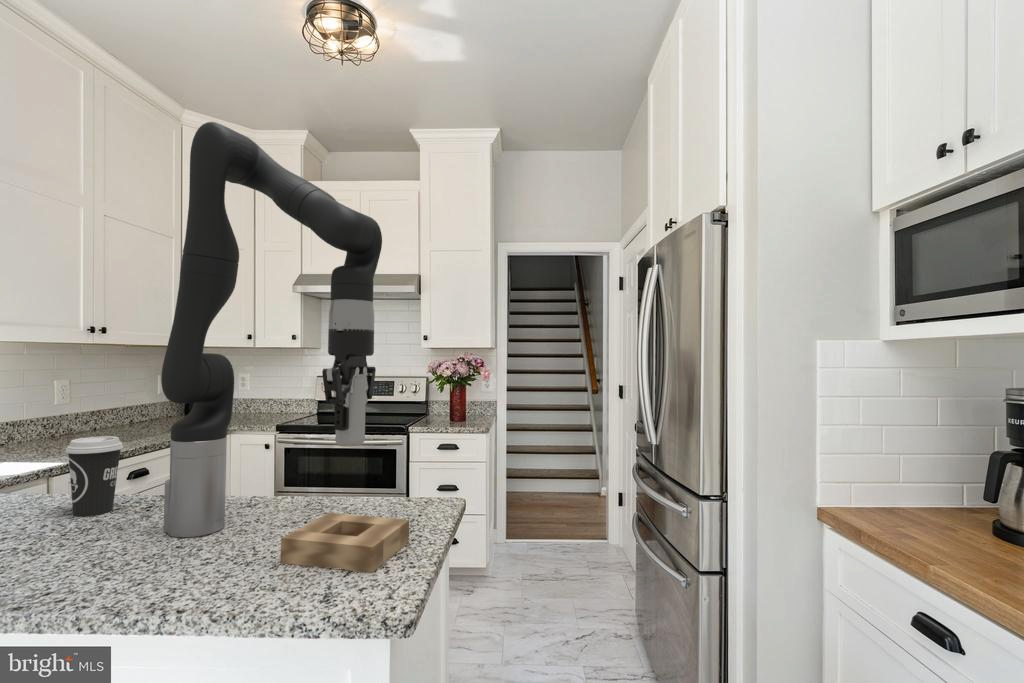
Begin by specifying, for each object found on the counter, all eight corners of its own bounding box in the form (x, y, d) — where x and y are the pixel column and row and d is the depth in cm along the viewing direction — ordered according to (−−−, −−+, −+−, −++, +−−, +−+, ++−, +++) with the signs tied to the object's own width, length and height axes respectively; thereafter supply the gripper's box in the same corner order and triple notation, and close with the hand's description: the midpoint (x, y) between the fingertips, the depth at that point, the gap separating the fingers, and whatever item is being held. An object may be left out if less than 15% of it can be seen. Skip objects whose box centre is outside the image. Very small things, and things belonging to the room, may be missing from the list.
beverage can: (356, 447, 89) (357, 374, 89) (329, 446, 90) (331, 374, 90) (369, 442, 94) (370, 373, 94) (344, 441, 95) (345, 373, 95)
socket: (280, 563, 87) (281, 537, 87) (328, 534, 100) (328, 512, 100) (372, 573, 83) (372, 547, 83) (408, 542, 97) (409, 519, 97)
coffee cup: (98, 519, 107) (100, 443, 107) (50, 518, 107) (52, 442, 108) (132, 505, 117) (134, 436, 117) (88, 504, 117) (90, 435, 117)
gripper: (352, 329, 100) (351, 421, 100) (307, 325, 86) (305, 432, 86) (390, 329, 98) (388, 423, 98) (350, 325, 84) (348, 435, 84)
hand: (349, 427), depth 92 cm, fingers closed on beverage can, 5 cm apart
